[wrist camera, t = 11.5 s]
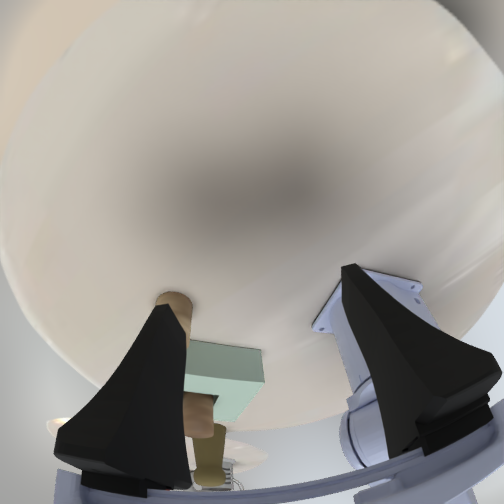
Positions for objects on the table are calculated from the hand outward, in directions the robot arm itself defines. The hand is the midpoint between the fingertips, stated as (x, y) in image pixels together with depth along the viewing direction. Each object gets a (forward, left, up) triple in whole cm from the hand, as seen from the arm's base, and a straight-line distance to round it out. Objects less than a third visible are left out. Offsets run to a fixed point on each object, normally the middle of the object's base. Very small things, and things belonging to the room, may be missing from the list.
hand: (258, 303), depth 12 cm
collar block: (-1, +21, -9) cm, 23 cm away
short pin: (+3, +11, -9) cm, 15 cm away
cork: (-6, +41, -10) cm, 43 cm away
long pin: (-1, +21, -9) cm, 23 cm away
